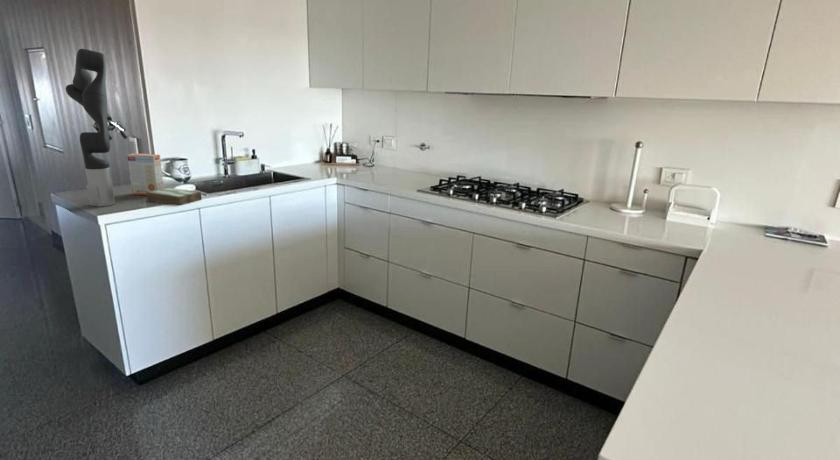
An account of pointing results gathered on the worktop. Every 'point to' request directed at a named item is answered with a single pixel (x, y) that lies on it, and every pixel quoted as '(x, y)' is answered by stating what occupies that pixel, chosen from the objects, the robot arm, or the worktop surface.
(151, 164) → the cracker box
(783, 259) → the worktop surface
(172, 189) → the podium
